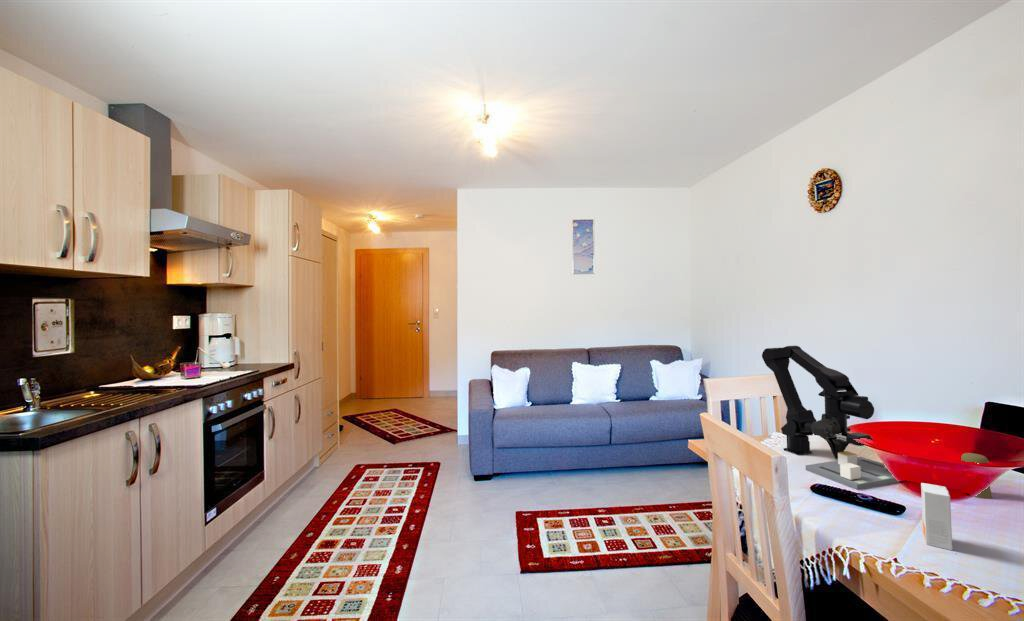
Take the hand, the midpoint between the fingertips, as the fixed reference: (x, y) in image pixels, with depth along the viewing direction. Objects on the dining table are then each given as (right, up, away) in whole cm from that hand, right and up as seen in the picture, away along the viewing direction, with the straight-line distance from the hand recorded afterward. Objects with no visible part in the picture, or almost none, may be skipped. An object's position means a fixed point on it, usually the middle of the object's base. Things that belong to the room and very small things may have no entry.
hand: (837, 458), depth 139 cm
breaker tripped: (+1, -1, -3) cm, 3 cm away
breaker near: (-6, -1, -13) cm, 14 cm away
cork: (+21, -2, -22) cm, 31 cm away
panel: (+2, -3, -7) cm, 7 cm away
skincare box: (-12, -3, -44) cm, 46 cm away
